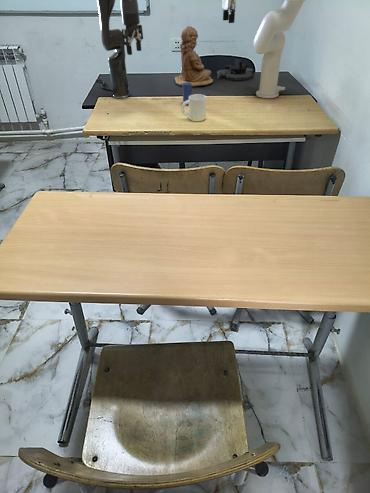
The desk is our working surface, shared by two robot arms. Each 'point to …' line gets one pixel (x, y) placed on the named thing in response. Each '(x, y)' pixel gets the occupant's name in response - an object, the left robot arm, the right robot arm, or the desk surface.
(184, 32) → the sculpture
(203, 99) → the mug
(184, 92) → the can
